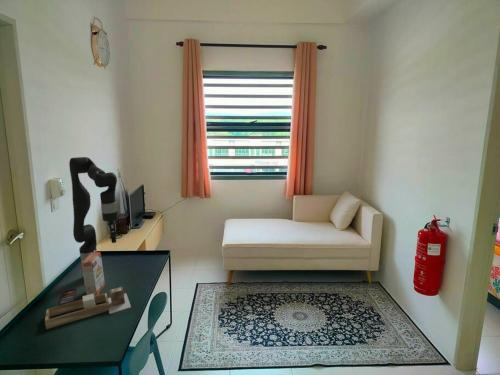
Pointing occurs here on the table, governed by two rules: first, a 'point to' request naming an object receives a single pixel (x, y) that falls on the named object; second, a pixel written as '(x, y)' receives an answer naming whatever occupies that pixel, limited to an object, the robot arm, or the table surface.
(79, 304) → the bin
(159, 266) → the table surface
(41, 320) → the table surface
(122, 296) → the walnut block
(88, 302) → the cream block
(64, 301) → the smartphone
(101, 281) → the cracker box
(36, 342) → the table surface
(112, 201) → the robot arm
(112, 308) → the pad
